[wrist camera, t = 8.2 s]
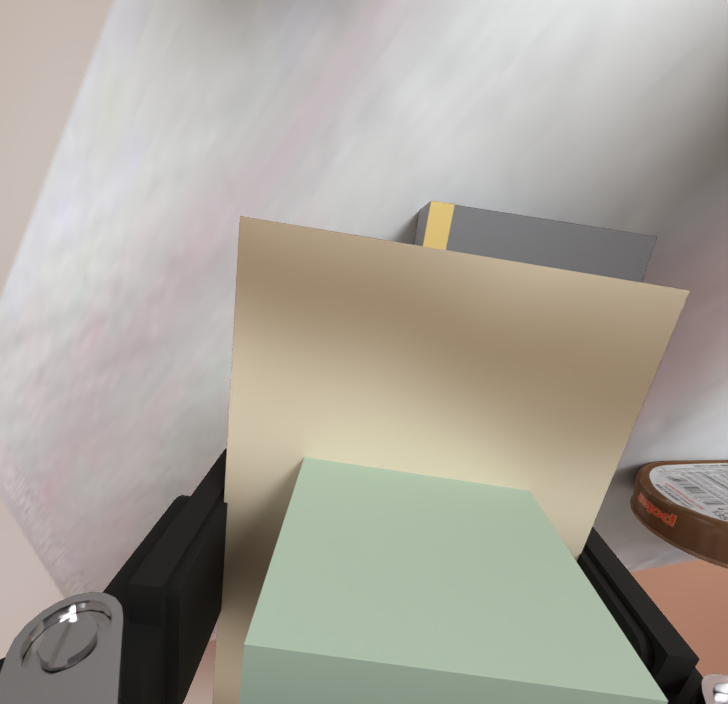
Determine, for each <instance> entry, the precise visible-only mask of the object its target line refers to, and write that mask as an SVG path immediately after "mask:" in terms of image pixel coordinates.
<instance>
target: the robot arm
mask: <svg viewBox="0 0 728 704" xmlns="http://www.w3.org/2000/svg"><path fill="white" fill-rule="evenodd" d="M226 456H227V448H226V449H225V450H224V451H223V453H222V454H221V455H220V457H219V458H218V460H217V461H216V462H215V464H214V465H213V466H212V468H211V469H210V471H209V472H208V473H207V475H206V476H205V478H204V479H203V480H202V482H201V483H200V484H199V486H198V487H197V489H196V490H195V491H194V493H193V494H192V495H191V496H184V495H181V496H179V497H177V498H176V499H175V500H174V501H173V503H172V504H171V505H170V507H169V508H168V509H167V510H166V512H165V513H164V514H163V516H162V517H161V518H160V519H159V521H158V522H157V523H156V525H155V526H154V527H153V528H152V530H151V531H150V532H149V534H148V535H147V536H146V537H145V539H144V540H143V541H142V543H141V544H140V545H139V546H138V548H137V549H136V550H135V552H134V553H133V554H132V555H131V557H130V558H129V559H128V560H127V562H126V563H125V564H124V566H123V567H122V568H121V569H120V571H119V572H118V573H117V575H116V576H115V577H114V578H113V580H112V581H111V582H110V584H109V585H108V586H107V587H106V589H105V590H104V591H103V593H99V592H89V593H84V594H78V595H75V596H72V597H69V598H67V599H64V600H62V601H59V602H57V603H56V604H54V605H52V606H51V607H49V608H47V609H46V610H44V611H42V612H41V613H40V614H39V615H37V616H36V617H35V618H34V619H33V620H31V621H30V622H29V623H28V624H27V625H26V626H25V627H24V628H23V629H22V631H21V632H20V633H19V634H18V635H17V637H16V638H15V639H14V641H13V643H12V645H11V647H10V649H9V651H8V652H7V655H6V657H5V658H3V659H1V660H0V704H183V702H184V700H185V697H186V695H187V693H188V690H189V688H190V685H191V683H192V681H193V678H194V676H195V673H196V671H197V668H198V666H199V663H200V661H201V659H202V656H203V654H204V651H205V649H206V646H207V644H208V642H209V639H210V637H211V634H212V632H213V629H214V627H215V624H216V622H217V620H218V617H219V615H220V612H221V607H222V590H223V573H224V557H225V540H226V523H227V506H228V503H226V502H224V492H225V474H226ZM577 563H578V565H579V566H580V568H581V569H582V571H583V572H584V574H585V575H586V577H587V578H588V580H589V582H590V583H591V585H592V586H593V588H594V589H595V591H596V592H597V594H598V595H599V597H600V598H601V600H602V601H603V603H604V604H605V606H606V607H607V609H608V610H609V612H610V613H611V615H612V616H613V618H614V620H615V621H616V623H617V624H618V626H619V627H620V629H621V630H622V632H623V633H624V635H625V636H626V638H627V639H628V641H629V642H630V644H631V645H632V647H633V648H634V650H635V651H636V653H637V654H638V656H639V657H640V659H641V661H642V662H643V664H644V665H645V667H646V668H647V670H648V671H649V673H650V674H651V676H652V677H653V679H654V680H655V682H656V683H657V685H658V686H659V688H660V689H661V691H662V692H663V694H664V695H665V697H666V698H667V700H668V703H667V704H728V676H725V675H719V674H710V675H705V677H704V678H703V677H702V676H701V674H700V673H699V672H698V671H697V669H696V668H695V666H696V664H697V663H698V661H699V658H698V657H697V655H696V654H695V653H694V652H693V650H692V649H691V648H690V647H689V645H688V644H687V643H686V642H685V641H684V639H683V638H682V637H681V636H680V634H679V633H678V632H677V631H676V629H675V628H674V627H673V626H672V624H671V623H670V622H669V621H668V620H667V618H666V617H665V616H664V615H663V613H662V612H661V611H660V610H659V608H658V607H657V606H656V605H655V603H654V602H653V601H652V600H651V598H650V597H649V596H648V595H647V594H646V592H645V591H644V590H643V589H642V587H641V586H640V585H639V584H638V583H637V581H636V580H635V579H634V577H633V576H632V575H631V574H630V572H629V571H628V570H627V569H626V568H625V566H624V565H623V564H622V563H621V561H620V560H619V559H618V558H617V556H616V555H615V554H614V553H613V551H612V550H611V549H610V548H609V547H608V545H607V544H606V543H605V542H604V540H603V539H602V538H601V537H600V535H599V534H598V533H597V532H596V530H595V529H594V528H593V527H592V529H591V531H590V533H589V536H588V538H587V541H586V543H585V545H584V548H583V550H582V553H581V554H580V555H579V557H578V560H577Z"/></svg>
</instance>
